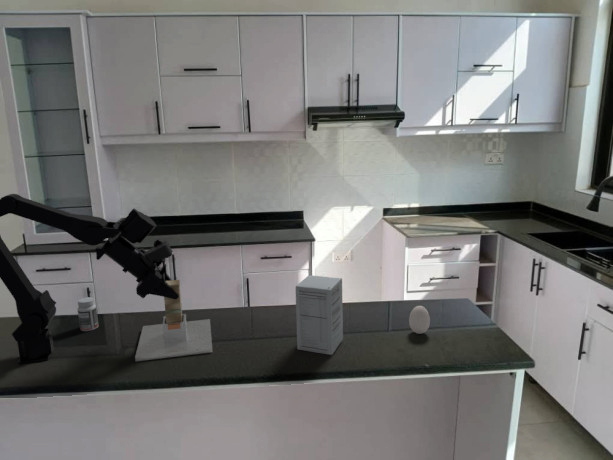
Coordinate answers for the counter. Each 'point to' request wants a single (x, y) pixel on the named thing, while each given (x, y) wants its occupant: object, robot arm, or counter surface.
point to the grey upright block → (319, 314)
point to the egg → (419, 320)
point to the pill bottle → (87, 314)
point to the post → (173, 304)
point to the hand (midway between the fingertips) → (178, 294)
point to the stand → (174, 339)
